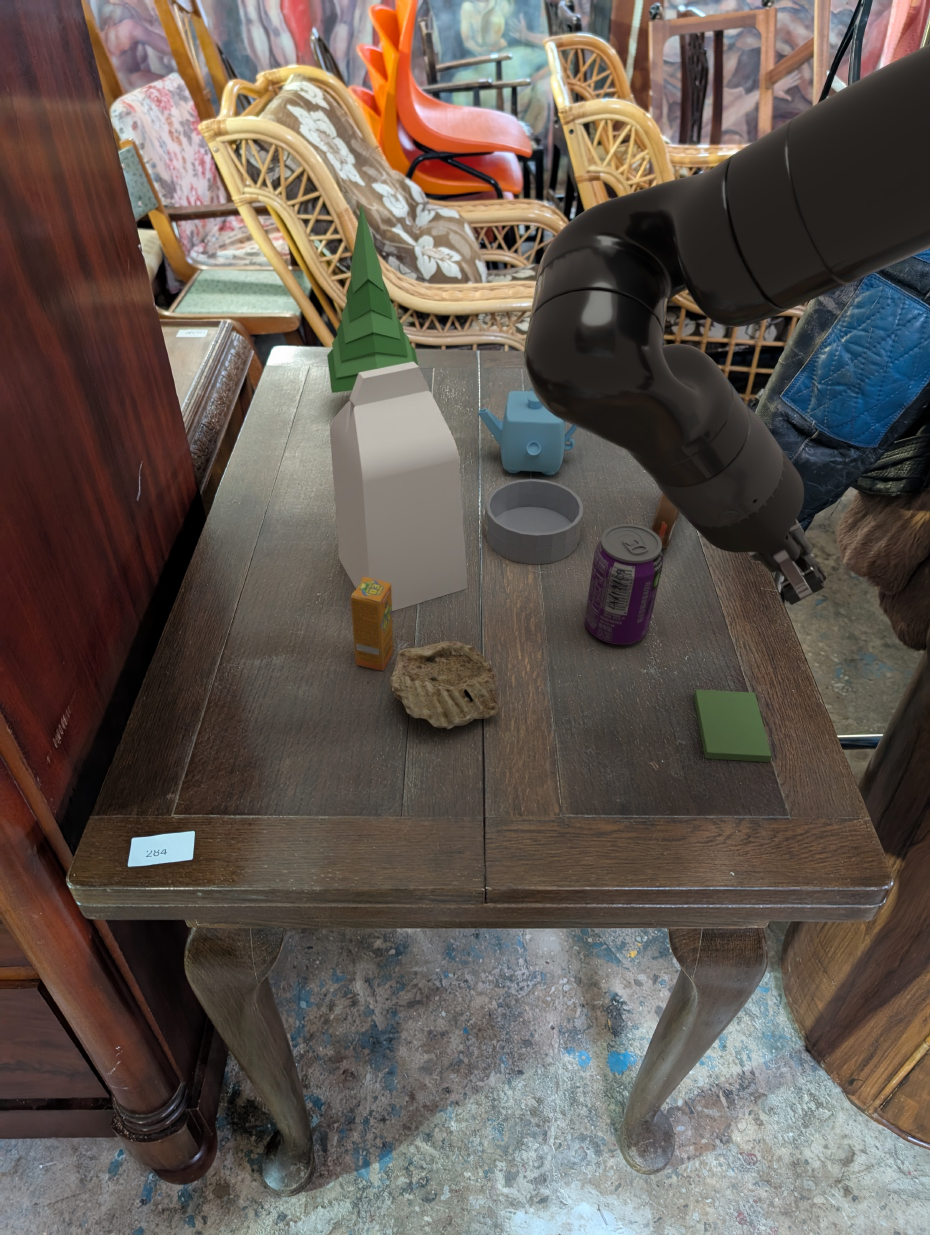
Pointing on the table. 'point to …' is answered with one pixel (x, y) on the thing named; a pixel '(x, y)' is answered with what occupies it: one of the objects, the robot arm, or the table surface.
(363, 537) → the milk
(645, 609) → the beverage can
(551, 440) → the teapot
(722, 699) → the green rectangular slab
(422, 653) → the seashell
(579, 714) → the table surface
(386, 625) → the supplement box
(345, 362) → the decorative tree
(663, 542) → the tin
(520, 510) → the pan
